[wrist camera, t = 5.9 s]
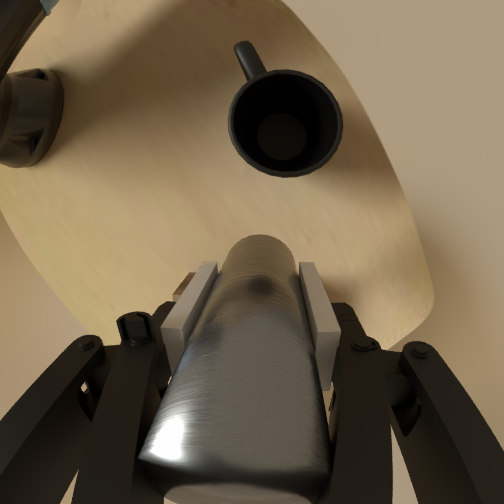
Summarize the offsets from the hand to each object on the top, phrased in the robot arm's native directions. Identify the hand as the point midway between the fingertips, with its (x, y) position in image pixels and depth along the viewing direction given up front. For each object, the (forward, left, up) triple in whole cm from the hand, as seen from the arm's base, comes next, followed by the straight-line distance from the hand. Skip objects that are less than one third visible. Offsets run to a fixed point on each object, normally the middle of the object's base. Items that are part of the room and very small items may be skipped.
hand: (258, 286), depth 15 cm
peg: (0, 0, -3) cm, 3 cm away
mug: (-11, +1, -16) cm, 19 cm away
